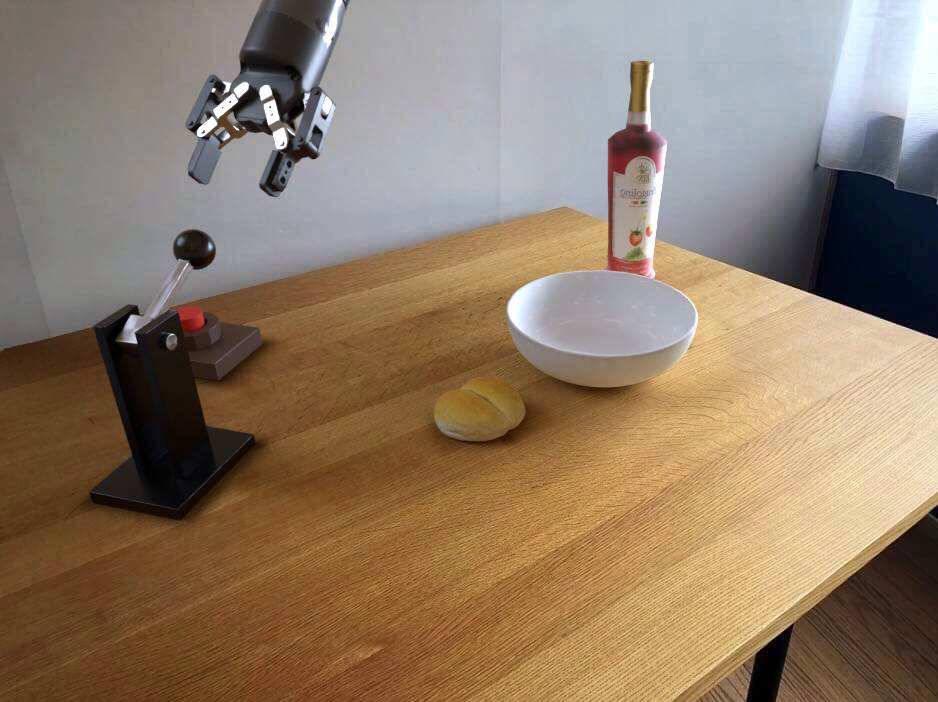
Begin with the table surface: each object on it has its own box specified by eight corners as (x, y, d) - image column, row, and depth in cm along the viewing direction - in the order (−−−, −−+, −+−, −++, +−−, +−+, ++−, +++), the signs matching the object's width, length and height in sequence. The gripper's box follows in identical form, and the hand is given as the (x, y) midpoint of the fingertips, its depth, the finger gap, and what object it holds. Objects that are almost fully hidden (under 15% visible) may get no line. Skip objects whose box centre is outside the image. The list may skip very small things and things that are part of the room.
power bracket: (176, 429, 86) (137, 283, 77) (256, 444, 83) (225, 295, 75) (92, 502, 76) (36, 343, 67) (180, 520, 74) (134, 359, 65)
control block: (124, 366, 96) (115, 334, 94) (174, 331, 104) (166, 300, 102) (218, 381, 94) (210, 348, 92) (262, 344, 101) (256, 313, 99)
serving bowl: (507, 414, 88) (506, 355, 84) (507, 322, 106) (506, 270, 102) (708, 411, 89) (716, 352, 85) (675, 320, 106) (680, 268, 103)
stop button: (164, 331, 96) (161, 317, 95) (184, 318, 99) (181, 304, 98) (192, 336, 95) (189, 321, 94) (211, 321, 98) (208, 308, 97)
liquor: (650, 270, 120) (666, 56, 105) (660, 292, 113) (679, 68, 99) (598, 272, 119) (606, 57, 104) (605, 294, 113) (616, 69, 98)
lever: (195, 246, 80) (176, 218, 77) (229, 250, 79) (212, 222, 76) (126, 360, 73) (103, 334, 70) (162, 366, 73) (140, 340, 70)
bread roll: (419, 423, 87) (416, 389, 85) (485, 391, 92) (484, 358, 90) (472, 457, 82) (470, 421, 80) (539, 421, 87) (540, 387, 85)
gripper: (375, 66, 83) (315, 217, 80) (259, 53, 88) (200, 195, 86) (334, 13, 76) (267, 176, 73) (211, 3, 81) (145, 155, 79)
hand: (231, 186), depth 79 cm, fingers open, 8 cm apart
